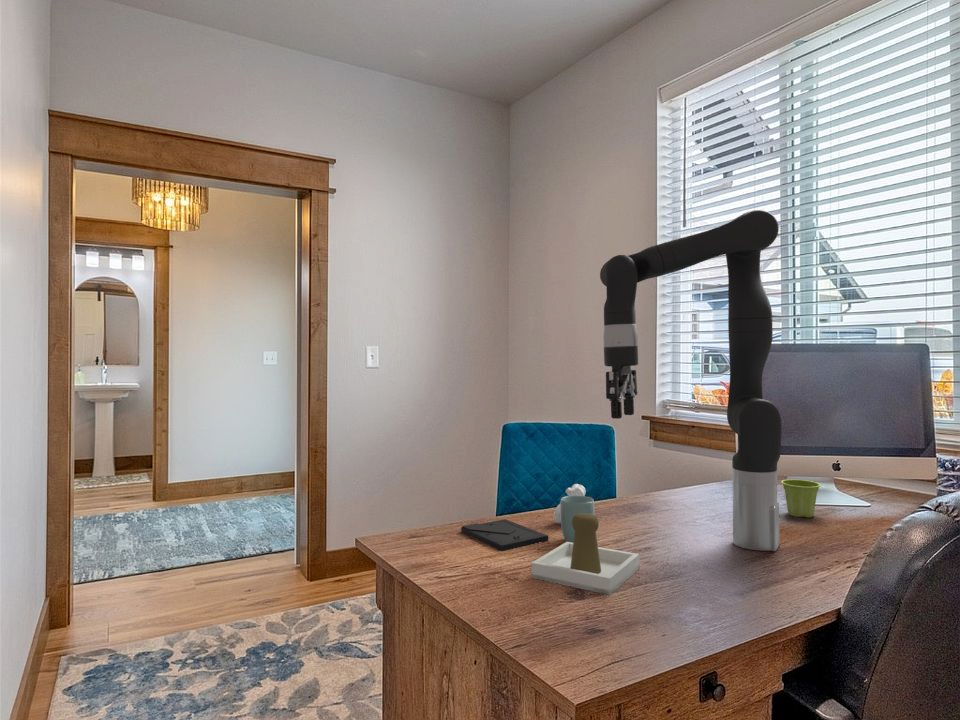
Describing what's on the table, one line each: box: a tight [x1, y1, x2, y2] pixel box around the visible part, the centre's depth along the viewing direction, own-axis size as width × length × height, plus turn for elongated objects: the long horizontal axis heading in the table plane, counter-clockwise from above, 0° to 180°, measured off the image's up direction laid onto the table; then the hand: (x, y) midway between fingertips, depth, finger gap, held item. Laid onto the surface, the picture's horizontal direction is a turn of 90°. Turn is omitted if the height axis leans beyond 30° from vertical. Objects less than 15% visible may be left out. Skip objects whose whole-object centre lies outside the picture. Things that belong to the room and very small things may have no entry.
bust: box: [553, 483, 587, 525], centre depth 156 cm, size 12×8×11 cm
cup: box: [559, 495, 595, 543], centre depth 140 cm, size 8×8×10 cm
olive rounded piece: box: [570, 513, 601, 574], centre depth 119 cm, size 6×6×11 cm
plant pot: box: [781, 479, 822, 519], centre depth 163 cm, size 9×9×9 cm
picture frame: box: [460, 519, 549, 552], centre depth 145 cm, size 13×2×18 cm
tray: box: [531, 541, 641, 596], centre depth 119 cm, size 16×16×3 cm
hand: (623, 416), depth 137 cm, fingers open, 8 cm apart
